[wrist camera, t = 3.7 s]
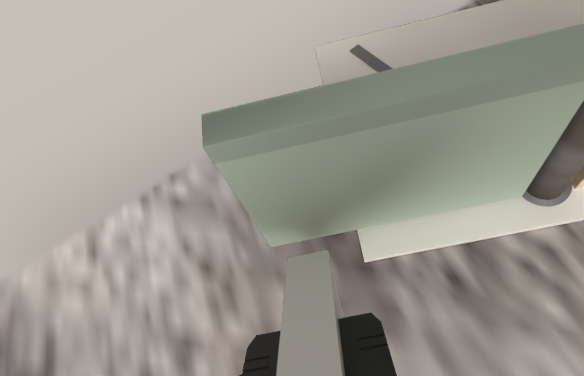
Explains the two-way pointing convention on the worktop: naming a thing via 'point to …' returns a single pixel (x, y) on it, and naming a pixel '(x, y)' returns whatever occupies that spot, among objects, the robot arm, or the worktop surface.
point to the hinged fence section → (400, 138)
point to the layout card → (435, 44)
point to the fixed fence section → (562, 162)
